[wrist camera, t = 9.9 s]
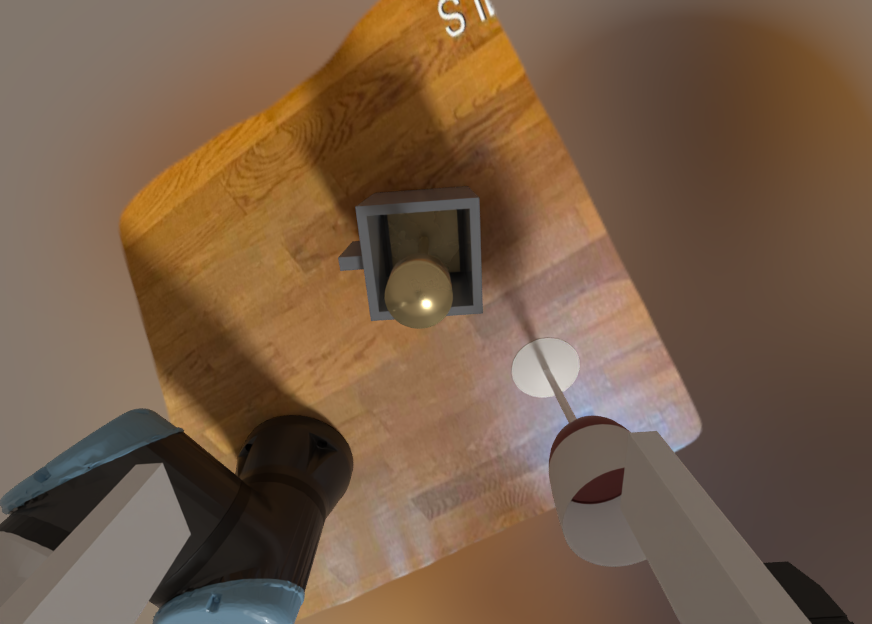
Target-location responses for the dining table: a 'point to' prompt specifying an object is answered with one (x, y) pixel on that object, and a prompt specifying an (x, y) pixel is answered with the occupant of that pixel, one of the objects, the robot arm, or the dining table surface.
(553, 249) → the dining table surface
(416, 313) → the plunger
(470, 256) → the press pot
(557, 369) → the wineglass
